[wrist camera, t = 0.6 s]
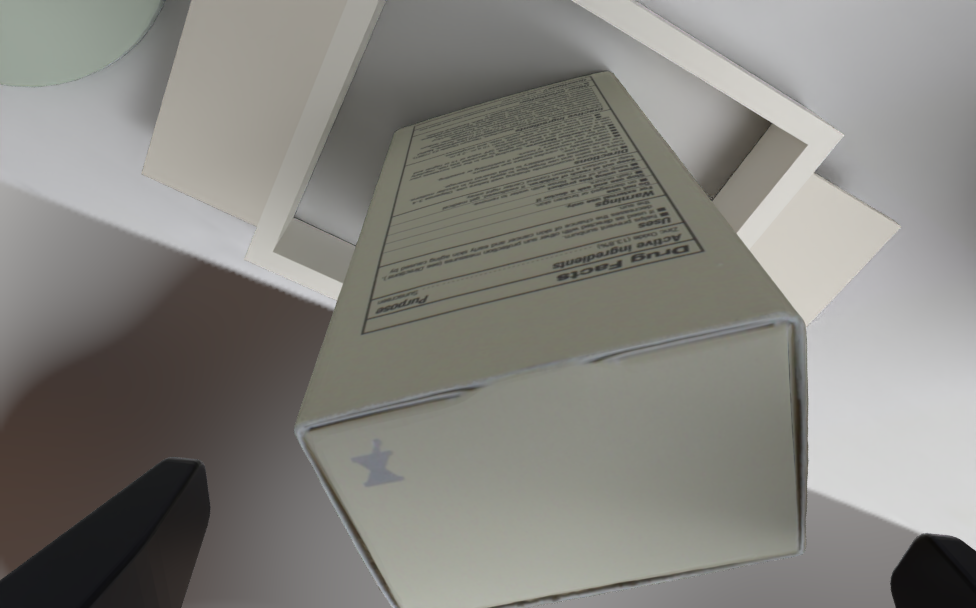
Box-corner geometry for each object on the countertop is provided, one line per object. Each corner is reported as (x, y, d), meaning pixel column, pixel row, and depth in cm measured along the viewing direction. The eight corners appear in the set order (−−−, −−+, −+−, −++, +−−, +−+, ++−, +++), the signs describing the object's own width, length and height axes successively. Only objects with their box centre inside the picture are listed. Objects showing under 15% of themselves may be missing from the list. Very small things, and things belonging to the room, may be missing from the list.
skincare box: (438, 261, 21) (381, 642, 10) (390, 124, 19) (257, 432, 8) (649, 211, 20) (820, 573, 9) (625, 61, 18) (815, 317, 7)
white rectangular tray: (891, 161, 19) (935, 191, 17) (670, 409, 24) (685, 454, 22) (288, -218, 15) (257, -232, 13) (166, 178, 19) (130, 209, 18)
